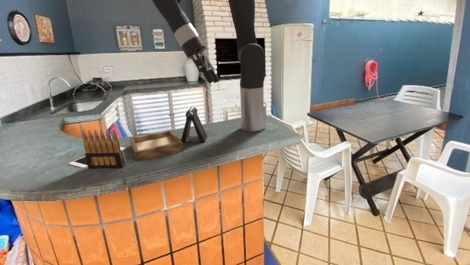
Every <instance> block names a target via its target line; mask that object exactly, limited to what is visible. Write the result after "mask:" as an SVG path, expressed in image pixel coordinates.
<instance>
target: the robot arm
mask: <svg viewBox="0 0 470 265" xmlns="http://www.w3.org/2000/svg"><path fill="white" fill-rule="evenodd" d="M151 1H152V3H153V5H154V6H155V8H156V9H157V11H158V12H159V14H161V16H162V18H164V20H165V21H166V23H167V25H168V26H169V28H170V30H171V32H172V33H173V35H174V37H175V39H176V41H177V43H178V44H179V46H180V48H181V49H182V51H183V53H184V54H185V57H186V58H187V59H190V60H192V62H193V63H194V65H195V67H196V68H197V70H198V72H199V73H201V74H202V75H203V76H204V79H205V80H206V81H207V84H212V83H214V84H216V83H218V82H219V81H220V79H219V77H218V75H217V73H216V71H215V70H216V69H215V68H214V66H213V64H212V63H211V61H210V60H209V58H208V56H207V55H205V54H204V53H203V52H205V51H206V49H207V47H206V45H205V43H204V41H203V39H202V38H201V36H200V35H199V33H198V30H197V29H196V28H195V27H194V26H193V24H192V23H191V21H190V19H189V18H188V16H187V14H186V12H185V11H184V10H183V9H182V8H181V7H180V5H179V4H180V3H181V1H182V0H151ZM227 1H228V6H229V10H230V14H231V15H230V16H231V20H232V22H233V26H234V30H235V36H236V45H237V58H238V61H239V63H240V78H239V93H240V94H239V96H240V126H241V130H242V131H243V132H250V133H251V132H260V131H262V130H264V129H266V127H267V125H266V123H267V122H266V121H267V117H266V114H267V112H266V110H267V107H266V105H265V103H264V102H265V101H264V100H265V98H264V90H265V89H264V83H265V77H266V53H265V50H264V47H262V46H261V45H260V44H258V41H257V36H256V30H255V19H256V18H255V17H256V0H227Z"/></svg>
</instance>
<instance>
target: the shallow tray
mask: <svg viewBox="0 0 470 265" xmlns="http://www.w3.org/2000/svg"><path fill="white" fill-rule="evenodd" d="M129 141H130V144H131V148H132V151H133V153H134V156H135V159H136V162H140V161H144V160H148V159H153V158H156V157H161V156H166V155H170V154H174V153H178V152H183V151H184V145H183V144H184V143H182V141H181V138H179V137H178V136H177V135H176V133H175V132H174V131H173V130H171V129H170V130H164V131H159V132H155V133H150V134H149V133H148V134H143V135H138V136H134V137H133V136H132V137H129Z"/></svg>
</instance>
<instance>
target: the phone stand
mask: <svg viewBox="0 0 470 265" xmlns="http://www.w3.org/2000/svg"><path fill="white" fill-rule="evenodd" d="M185 118H186V119H185V124H184V127H183V132H182V135H181V138H180V140H181V141H182V143H183V144H202V143H203V144H204V143H206V141H207V138H208V134H207V132H206V130H205V128H204V125H203V124H202V122H201V119H200V118H199V115H198V109H197V107H195V106H194V107H192V106H191V107H190V108H189V109H188V110H187V111H186V112H185ZM192 124H193V127H194V129H195V132H196V135H194V136H193V135H191V136H190V133H191V127H192Z"/></svg>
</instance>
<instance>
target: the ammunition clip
mask: <svg viewBox="0 0 470 265" xmlns="http://www.w3.org/2000/svg"><path fill="white" fill-rule="evenodd" d="M93 132H94V133H93ZM93 132H92V131H91V130H90V129H88V132H87V133H86V131H85V130H84V129H83V130H82V131H81V136H82V141H83V148H84V151H85V153H84V156H86V161H87V166H88V167H87V169H88V170H115V169H116V170H118V169H119V170H120V169H124V168H125V166H126V163H125V162H126V161H125V158H124V154H123V151H122V150H121V149H120V147H121V146H120V141H119V139H118V135H117V133H116V130H115V129H112V131H111V133H110V131H109V130H108V129H106V130H105V134H104V131H103V130H102V129H100V130H99V134H98V131H97V130H96V129H94V131H93Z"/></svg>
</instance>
